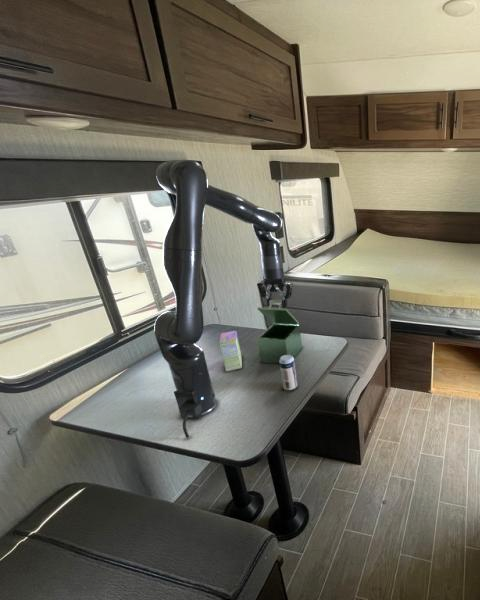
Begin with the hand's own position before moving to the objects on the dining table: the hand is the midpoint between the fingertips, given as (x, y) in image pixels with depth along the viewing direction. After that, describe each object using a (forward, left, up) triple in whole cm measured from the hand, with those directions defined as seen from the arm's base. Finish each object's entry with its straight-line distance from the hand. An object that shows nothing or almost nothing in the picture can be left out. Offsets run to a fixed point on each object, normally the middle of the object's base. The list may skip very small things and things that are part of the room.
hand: (277, 307), depth 129 cm
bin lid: (0, 0, -4) cm, 4 cm away
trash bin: (-2, 0, -21) cm, 21 cm away
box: (-11, +16, -21) cm, 28 cm away
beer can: (-23, -13, -21) cm, 33 cm away
